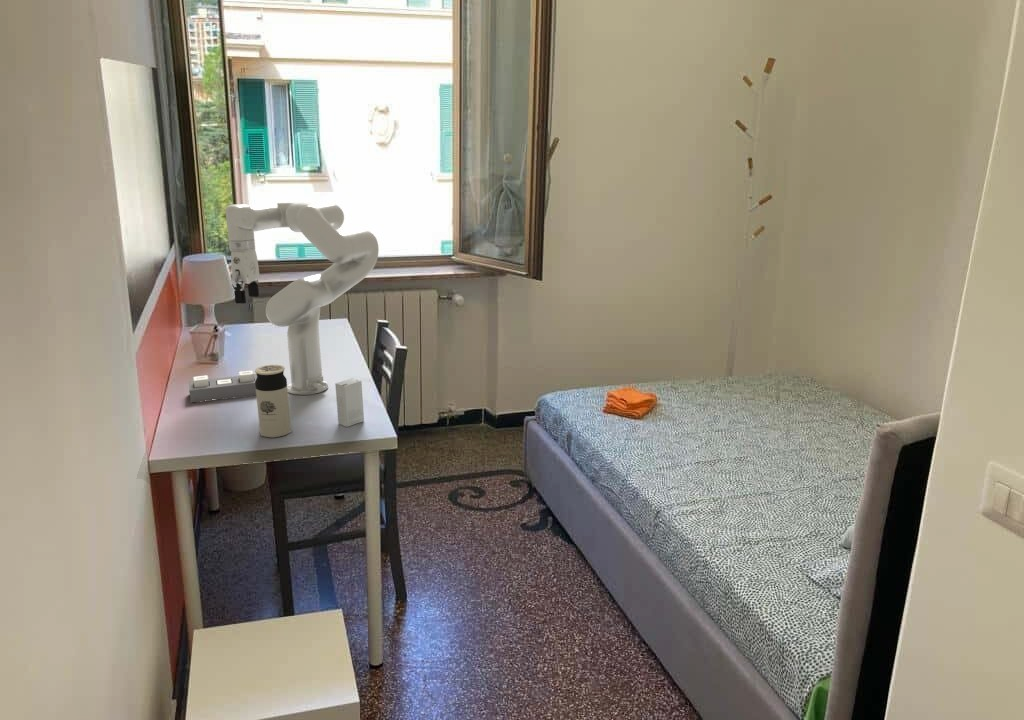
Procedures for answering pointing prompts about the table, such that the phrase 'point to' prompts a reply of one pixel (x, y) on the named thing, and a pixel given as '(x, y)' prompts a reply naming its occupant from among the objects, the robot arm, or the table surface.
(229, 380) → the middle button
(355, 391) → the skincare box
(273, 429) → the travel mug
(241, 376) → the button
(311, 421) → the table surface
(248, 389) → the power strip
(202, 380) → the button
